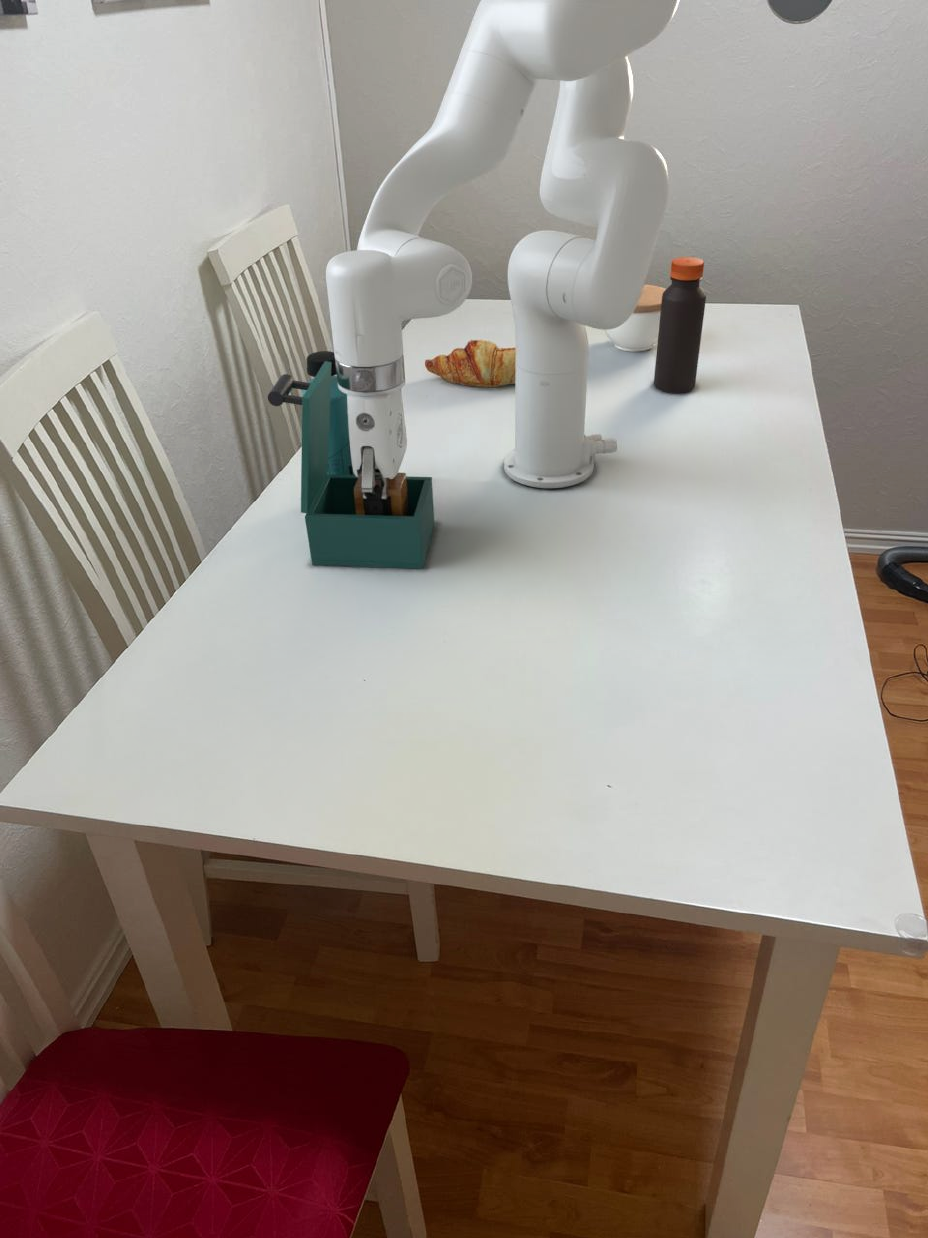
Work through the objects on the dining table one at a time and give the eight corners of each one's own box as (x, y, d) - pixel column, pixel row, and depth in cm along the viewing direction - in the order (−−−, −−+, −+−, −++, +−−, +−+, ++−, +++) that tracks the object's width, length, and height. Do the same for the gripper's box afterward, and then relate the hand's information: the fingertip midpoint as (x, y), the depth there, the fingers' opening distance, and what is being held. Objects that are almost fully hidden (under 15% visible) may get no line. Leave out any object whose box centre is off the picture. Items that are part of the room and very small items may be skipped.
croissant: (548, 393, 159) (551, 346, 158) (547, 387, 149) (550, 336, 148) (428, 388, 161) (430, 341, 160) (419, 382, 152) (421, 332, 150)
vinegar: (645, 387, 152) (656, 262, 140) (666, 375, 156) (679, 252, 144) (681, 397, 148) (696, 270, 136) (702, 384, 152) (718, 259, 140)
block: (408, 508, 113) (406, 472, 110) (402, 526, 110) (400, 489, 107) (364, 507, 114) (360, 471, 111) (357, 525, 110) (353, 488, 107)
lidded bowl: (592, 335, 172) (595, 275, 166) (657, 330, 173) (663, 270, 167) (607, 359, 162) (611, 296, 156) (677, 354, 163) (684, 291, 156)
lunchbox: (434, 523, 118) (431, 476, 114) (422, 569, 110) (419, 519, 106) (331, 520, 119) (325, 474, 115) (312, 565, 111) (304, 516, 107)
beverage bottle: (357, 511, 121) (340, 365, 109) (309, 508, 122) (287, 363, 110) (370, 488, 126) (356, 346, 114) (325, 485, 127) (305, 344, 116)
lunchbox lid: (331, 361, 106) (285, 354, 107) (309, 398, 98) (260, 390, 98) (328, 471, 115) (285, 464, 115) (307, 513, 107) (261, 506, 107)
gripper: (390, 402, 94) (402, 553, 105) (415, 345, 107) (423, 484, 118) (319, 401, 95) (338, 551, 105) (352, 344, 108) (366, 482, 119)
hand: (383, 514), depth 112 cm, fingers closed on block, 4 cm apart
